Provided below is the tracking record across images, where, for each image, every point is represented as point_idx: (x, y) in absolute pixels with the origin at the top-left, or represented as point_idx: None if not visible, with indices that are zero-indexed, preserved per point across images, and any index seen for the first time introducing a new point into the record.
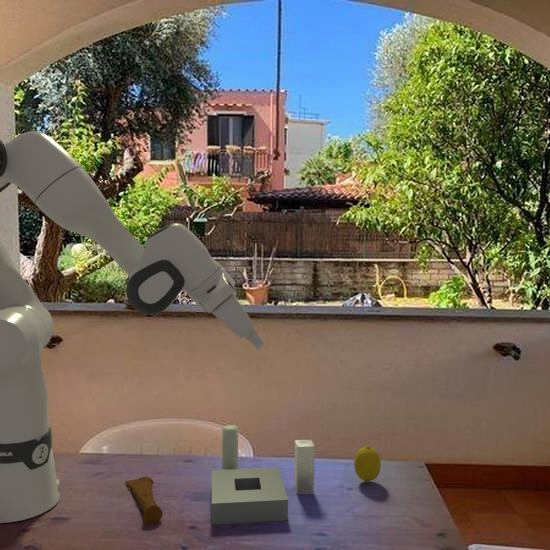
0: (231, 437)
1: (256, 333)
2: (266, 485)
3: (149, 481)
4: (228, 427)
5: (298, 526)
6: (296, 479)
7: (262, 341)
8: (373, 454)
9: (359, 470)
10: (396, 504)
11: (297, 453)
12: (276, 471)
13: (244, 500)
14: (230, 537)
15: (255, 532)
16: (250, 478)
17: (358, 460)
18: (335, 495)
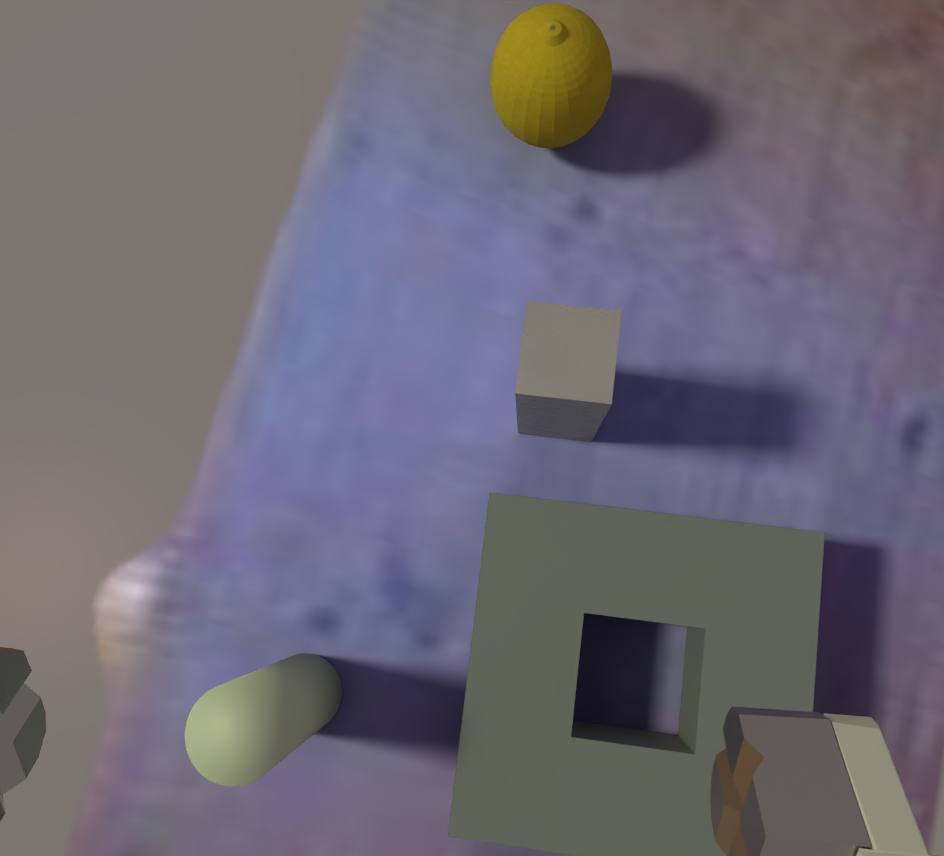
0: (293, 726)
1: (3, 659)
2: (670, 596)
3: None
4: (221, 742)
5: (845, 505)
6: (580, 431)
7: (887, 747)
8: (593, 30)
9: (581, 133)
10: (750, 82)
11: (607, 409)
12: (535, 514)
13: None
14: None
15: (860, 685)
16: (579, 655)
17: (570, 113)
18: (631, 286)
